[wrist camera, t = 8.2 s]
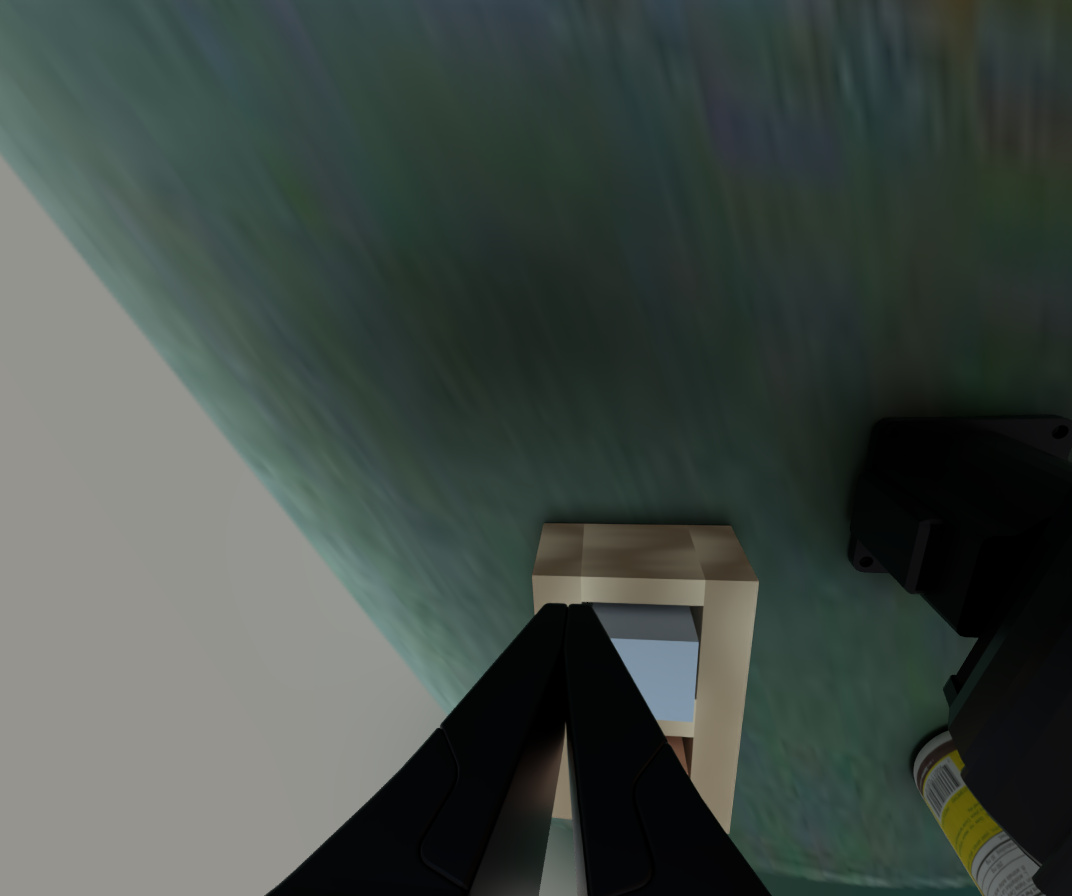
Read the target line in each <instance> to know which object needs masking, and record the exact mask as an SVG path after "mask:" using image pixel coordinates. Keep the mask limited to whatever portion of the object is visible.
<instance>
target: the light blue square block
mask: <svg viewBox="0 0 1072 896" xmlns="http://www.w3.org/2000/svg"><path fill="white" fill-rule="evenodd" d="M593 609H594V611H595V613H596V614H597V616H598V618H599V620H600V621H601V623H602V625H603V627H604V628H605V630H606V632H607V634H608V636H609V637H610V639H611V641H612V643H613V644H614V646H615V648H616V650H617V651H618V653H619V655H620V657H621V659H622V660H623V662H624V664H625V666H626V667H627V669H628V671H629V673H630V674H631V676H632V678H633V680H634V682H635V683H636V685H637V687H638V689H639V690H640V692H641V694H642V696H643V698H644V699H645V701H646V703H647V705H648V706H649V708H650V710H651V712H652V713H653V715H654V717H655V719H656V720H666V721H682V722H693V713H694V700H695V686H696V673H697V659H698V646H699V641H698V637H697V633H696V630H695V626H694V622H693V618H692V614H691V611H690V607H689V605H660V604H631V603H602V602H593Z"/></svg>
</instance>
